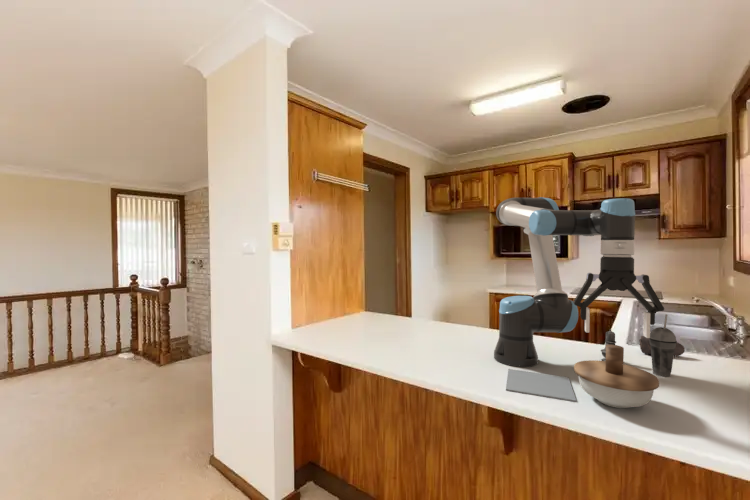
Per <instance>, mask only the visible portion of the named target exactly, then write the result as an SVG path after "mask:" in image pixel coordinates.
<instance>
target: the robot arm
mask: <svg viewBox="0 0 750 500" xmlns="http://www.w3.org/2000/svg"><path fill="white" fill-rule="evenodd" d="M600 206H601V207H600V208H599V209H594V210H593V209H592V210H591V209H590V210H589V209H587V210H586V209H584V210H583V209H581V210H576V209H575V210H574V209H573V210H572V209H571V210H570V209H569V210H567V209H566V210H565V209H559V206H558V203H557V202H556V201H555V200H554V199H552V198H550V197H543V196H542V197H541V196H539V197H511V198H507V199H504V200H503V201H501V202H500V203H499V204H498V206H497V208H496V210H495V211H496V212H495V214H496V215H495V216H496V218H497V220H498V221H499V222H500V223H501V224H503V225H506V226H510V227H511V226H514V227H521V228H522V229H523V233H524V234H526V235H527V236H528V242H529V249H530V255H531V256H530V257H531V261H532V267H533V273H534V282H535V288H536V293H535V294H534V295H533V297H532V296H531V295H513V296H507V297H504V298H502V299H501V300H500V301H499V309H498V312H499V313H498V314H499V315H498V316H499V317H498V318H499V327H498V329H499V330H498V333H499V334H498V336H499V337H498V340H497V343H496V346H495V348H494V350H493V359H494V360H495V361H496V362H498V363H501V364H504V365H507V366H508V365H509V366H512V367H521V368H523V367H526V368H527V367H534V366H537V365H538V364H539V355H538V352H537V350H536V347H535V343H534V333H556V334H559V333H568V332H569V333H570V332H571V331H573V330H574V329H575V328H576V326H577V323H578V320H579V309H578V307H579V308H580V318H581V320H583V321H584V332H585V333H590V321H591V319H590V317H591V315H590V312H591V311H590V307H589V306H590V305H591V304H592V303H594V301H595V300H596V299H598V297H599V296H601V295H602V293H604V292H605V291H606V290H608V291H621V292H624V291H628V292H629V293H630V294H631V295H632V296H633V297H634V299H636V301H638V302H639V303H640V304H641V305H642V306H643V308H645V310H646V311H645V310H644V311H643V319H642V320H643V323H642V324H643V325H642V327H643V328H642V331H643V333H642V336H645V337H646V338H650V333H651V326H654V325H655V324H656V313H657V312H658V313H659V312H663V311H665V307H664V306H663V304H662V302H661V300H660V298H659V297H658V295H657V293H656V292H655V290H654V289H653V287H652V285H651V284H650V283H651V282H650V281H651V280H650V276H649V275H648V274H641V275H635V258H634V257H633V256H634V255H635V233H636V232H635V231H636V230H635V229H636V228H635V225H636V210H635V201H634V200H633V199H632V198H625V197H624V198H623V197H622V198H609V199H604V200H603V201H602V202H601V205H600ZM553 236H583V237H593V236H600V255H601V257H600V262H599V263H600V269H599V271H600V272H599V274H598V273H597V274H596V273H592V272H588V273H587V274H586V278H585V281H584V283H583V285H582V286H581V288H580V290H579V292H578V293H577V295H576V296H575V298H574V300H571V299H569V295H568V293H567V292H565V291H564V290H563V288H562V287H563V286H562V283H561V282H562V281H561V277H560V272H559V271H560V270H559V264H558V260H557V255H556V249H555V244H554V238H553ZM597 279H598V280H599V282H601V283H600V284H599V285H598V286H597V288H595V290H594V291H593V292H592V293H590V294H589V295H588V296H587V297H586V298H585V299H584V297H585V295H586V294H587V292H588V291H589V289H590V287H591V286H592V283H593V282H596V281H597ZM636 281H638V283H639V284H641V285H642V287H643V289H644V291H645V292H646V294H647V296H648V298H649V299H650V301H651V303H652V304H653V305H651V303H649V301H647V299H646V298H644V296H642V294H641V293H640V292H639V291H638V290H637V289H636V288H635V287H634V285H633V284H634V283H635V282H636ZM583 299H584V300H583ZM582 300H583V301H582Z"/></svg>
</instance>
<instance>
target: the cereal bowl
mask: <svg viewBox="0 0 750 500" xmlns="http://www.w3.org/2000/svg"><path fill="white" fill-rule="evenodd" d="M577 376H578V375H577ZM578 382H579V384H580V386H581V388H582V389H583V390H584V392H585V394H587V395H589V396H590V397H592V398H593V399H596V400H597V401H598V402H599V403H601V404H603V405H606V406H609V407H612V408H617V409H629V408H639V407H643V406H646V404H648V403H649V402H650V401H651V400H652V398H653V396H654V390H651V391H628V390H621V389H615V388H610V387H606V386H602V385H599V384H596V383H593V382H590V381H588V380H585V379H583V378H581V377H580V376H578Z"/></svg>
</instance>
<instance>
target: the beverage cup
mask: <svg viewBox="0 0 750 500" xmlns="http://www.w3.org/2000/svg"><path fill="white" fill-rule="evenodd" d="M667 320H668V314H665V315H664V321H663V322H664V323H663V327H662V326H661V327H660V326H658V327H656V328H653V329H652V330H650V338H649V341H650V345H651V354H650V355H651V367H652V374H653V375H655V376H659V377H662V378H669V377H670V378H671V375H672V370H673V363H674V357H675V356H674V349H675V347H676V343H677V342H678V341H677V337H676V335H675V333H674V331H672V330H670V329H669V328H668V327H667Z"/></svg>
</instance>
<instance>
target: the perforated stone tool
mask: <svg viewBox="0 0 750 500" xmlns="http://www.w3.org/2000/svg"><path fill="white" fill-rule="evenodd" d="M638 340H639V341H638V342H639V348H640V350H641V352H642V353H643V354H647V355H651V345H650V341H649V338H646V337H645V336H643V335H641V336H640V338H639V339H638ZM685 350H686V349H685V347H684V345H683V344H681V343H679V342H678V341H677V343H676V347H675V349H674V356H673V357H679V356H682V355H683V354H684V353H685Z"/></svg>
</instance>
